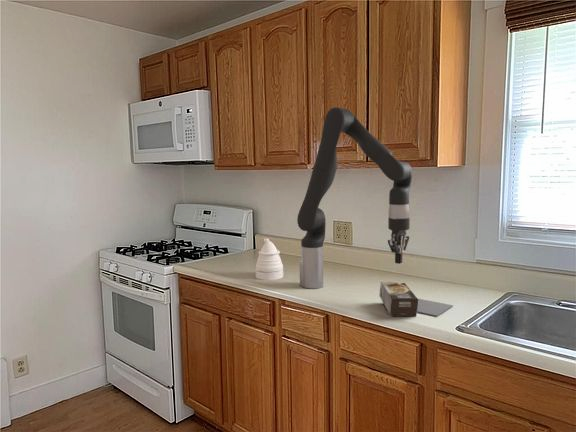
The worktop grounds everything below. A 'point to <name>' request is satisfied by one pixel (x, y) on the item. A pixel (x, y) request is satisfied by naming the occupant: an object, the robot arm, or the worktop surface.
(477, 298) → the worktop surface
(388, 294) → the coffee box
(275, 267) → the honey pot
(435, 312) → the mat
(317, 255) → the robot arm
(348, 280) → the worktop surface
